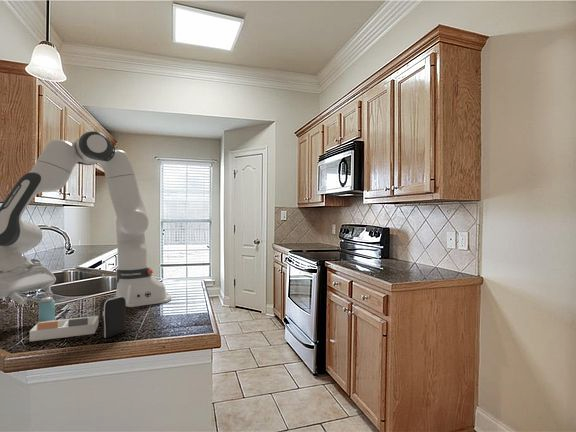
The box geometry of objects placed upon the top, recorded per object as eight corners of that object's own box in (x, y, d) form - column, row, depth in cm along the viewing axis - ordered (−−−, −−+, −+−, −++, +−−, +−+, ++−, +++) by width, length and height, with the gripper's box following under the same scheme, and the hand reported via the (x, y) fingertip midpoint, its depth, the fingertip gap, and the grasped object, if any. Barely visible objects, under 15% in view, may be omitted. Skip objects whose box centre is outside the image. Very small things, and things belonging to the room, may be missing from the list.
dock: (98, 324, 113) (98, 309, 113) (94, 333, 104) (94, 317, 104) (38, 331, 106) (38, 315, 106) (29, 341, 98) (29, 324, 98)
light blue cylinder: (56, 322, 115) (56, 296, 115) (53, 326, 111) (52, 299, 111) (41, 324, 113) (40, 297, 113) (36, 328, 109) (36, 300, 109)
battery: (118, 330, 108) (117, 294, 108) (126, 331, 106) (126, 295, 106) (97, 337, 101) (97, 299, 101) (106, 339, 100) (106, 300, 100)
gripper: (-14, 267, 104) (12, 301, 102) (45, 259, 124) (68, 286, 122) (-26, 281, 105) (0, 315, 103) (35, 270, 125) (57, 298, 123)
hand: (37, 299), depth 113 cm, fingers open, 8 cm apart
